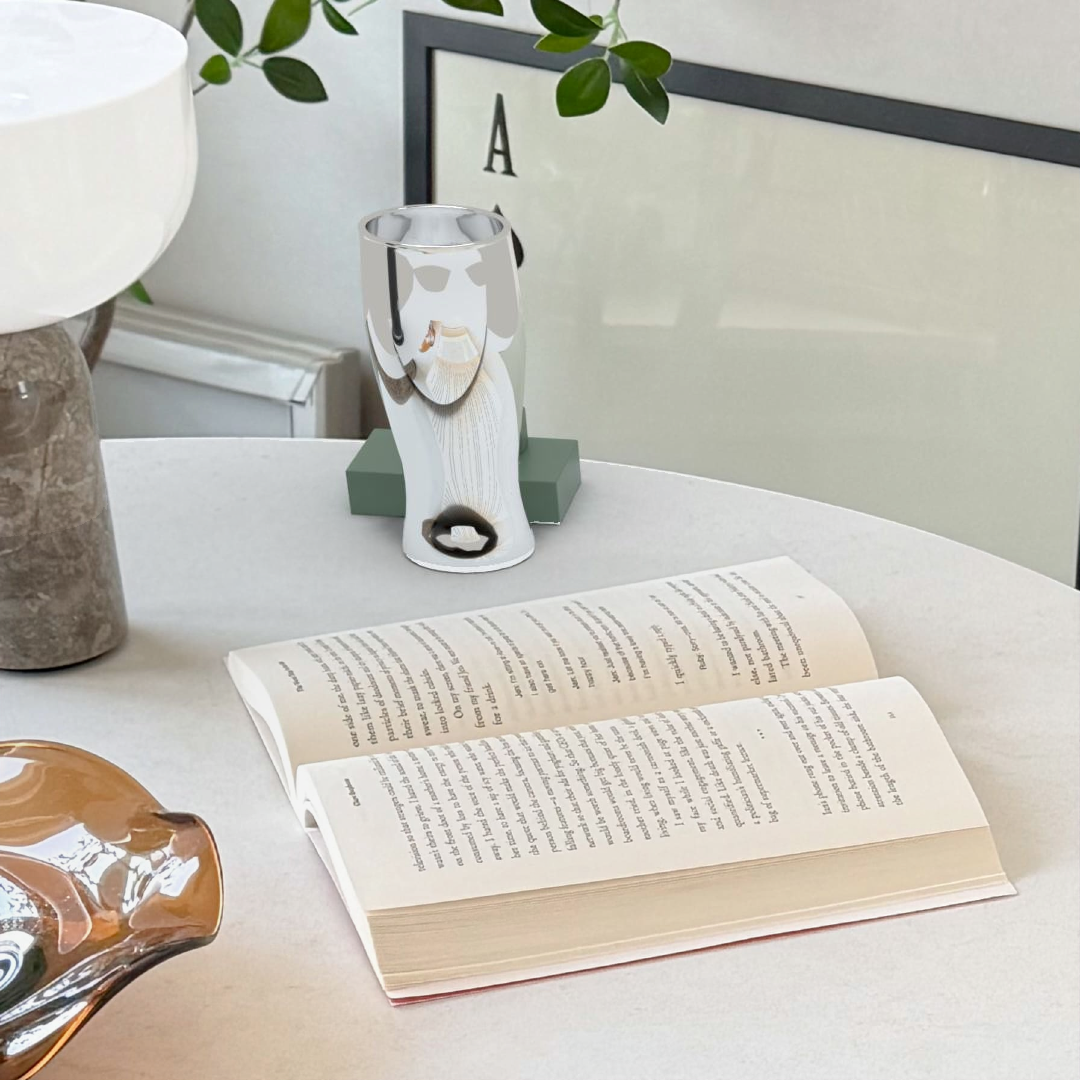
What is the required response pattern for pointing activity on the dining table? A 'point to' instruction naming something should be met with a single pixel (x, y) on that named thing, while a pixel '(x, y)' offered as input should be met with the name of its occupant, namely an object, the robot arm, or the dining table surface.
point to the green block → (542, 469)
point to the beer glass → (450, 376)
